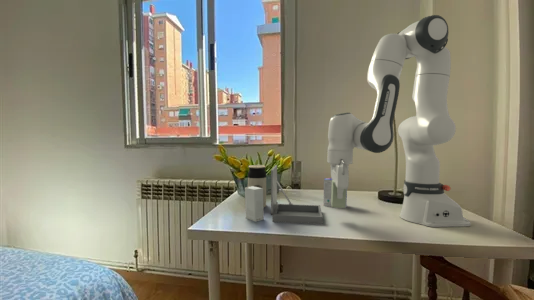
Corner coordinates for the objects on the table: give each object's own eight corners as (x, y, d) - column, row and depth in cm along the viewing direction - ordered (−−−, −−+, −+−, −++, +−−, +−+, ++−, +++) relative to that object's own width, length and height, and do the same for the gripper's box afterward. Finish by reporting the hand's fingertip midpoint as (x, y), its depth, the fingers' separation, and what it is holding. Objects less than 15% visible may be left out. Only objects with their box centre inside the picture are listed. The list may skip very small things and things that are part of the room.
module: (343, 204, 101) (344, 179, 100) (345, 208, 97) (346, 181, 96) (331, 204, 102) (331, 178, 101) (332, 207, 97) (333, 180, 97)
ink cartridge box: (346, 205, 123) (347, 173, 122) (346, 208, 117) (347, 175, 116) (323, 203, 125) (324, 172, 124) (323, 207, 120) (323, 174, 119)
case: (319, 212, 112) (320, 165, 111) (322, 225, 96) (323, 171, 94) (275, 210, 114) (275, 165, 113) (270, 223, 98) (271, 170, 97)
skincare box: (264, 220, 101) (264, 188, 100) (254, 223, 98) (254, 189, 97) (253, 216, 105) (253, 185, 105) (244, 219, 102) (244, 187, 102)
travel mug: (250, 204, 124) (250, 164, 123) (267, 204, 123) (267, 165, 122) (245, 208, 117) (245, 166, 115) (264, 209, 115) (264, 167, 114)
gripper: (354, 161, 87) (352, 204, 88) (344, 156, 108) (343, 191, 108) (334, 160, 88) (332, 203, 89) (328, 155, 108) (327, 190, 109)
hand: (338, 196), depth 99 cm, fingers closed on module, 4 cm apart
